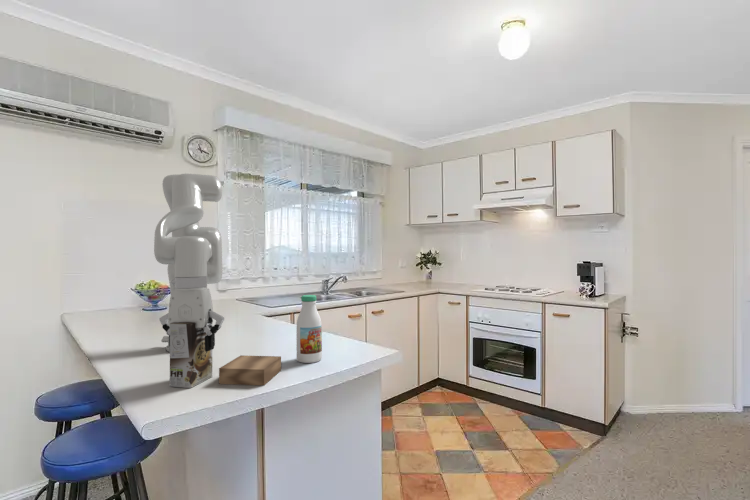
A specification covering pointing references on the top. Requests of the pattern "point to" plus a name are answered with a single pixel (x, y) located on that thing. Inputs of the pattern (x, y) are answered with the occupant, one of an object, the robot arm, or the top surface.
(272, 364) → the plinth
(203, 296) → the robot arm
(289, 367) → the top surface
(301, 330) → the milk bottle
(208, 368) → the cookie box
